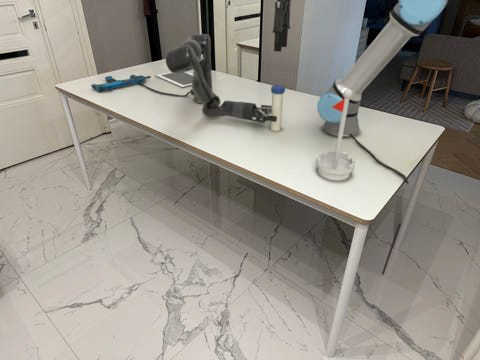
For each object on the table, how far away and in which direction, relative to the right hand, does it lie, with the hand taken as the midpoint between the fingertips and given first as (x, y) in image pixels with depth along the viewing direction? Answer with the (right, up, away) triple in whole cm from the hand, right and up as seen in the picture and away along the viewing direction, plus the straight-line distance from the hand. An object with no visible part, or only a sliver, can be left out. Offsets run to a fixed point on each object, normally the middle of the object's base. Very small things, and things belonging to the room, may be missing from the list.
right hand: (280, 48), depth 133 cm
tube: (0, -29, +19) cm, 34 cm away
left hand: (+1, -24, +15) cm, 28 cm away
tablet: (-53, +13, +83) cm, 99 cm away
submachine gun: (-89, +7, +74) cm, 116 cm away
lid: (0, -13, +8) cm, 16 cm away
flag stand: (+17, -49, -13) cm, 53 cm away
